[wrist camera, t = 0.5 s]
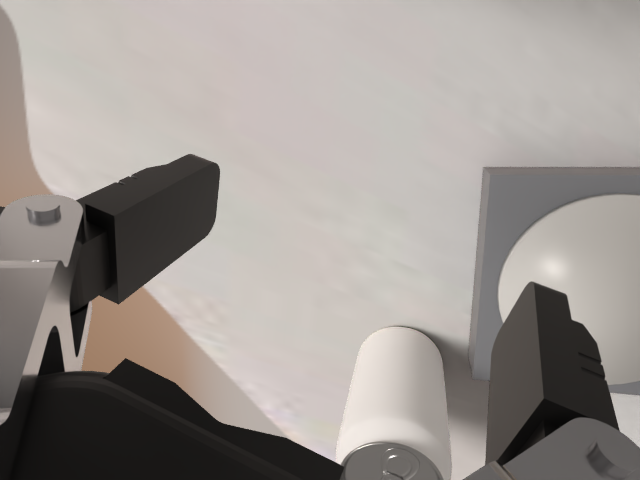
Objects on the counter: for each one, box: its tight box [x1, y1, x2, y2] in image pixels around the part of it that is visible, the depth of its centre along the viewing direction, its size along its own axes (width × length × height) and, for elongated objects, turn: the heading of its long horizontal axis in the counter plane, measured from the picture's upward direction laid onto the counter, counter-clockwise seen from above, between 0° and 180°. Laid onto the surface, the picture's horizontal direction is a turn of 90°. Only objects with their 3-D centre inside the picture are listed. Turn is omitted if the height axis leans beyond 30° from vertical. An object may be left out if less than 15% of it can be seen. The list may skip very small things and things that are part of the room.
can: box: [336, 327, 452, 480], centre depth 29 cm, size 6×6×12 cm
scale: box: [468, 167, 640, 395], centre depth 28 cm, size 14×15×4 cm
